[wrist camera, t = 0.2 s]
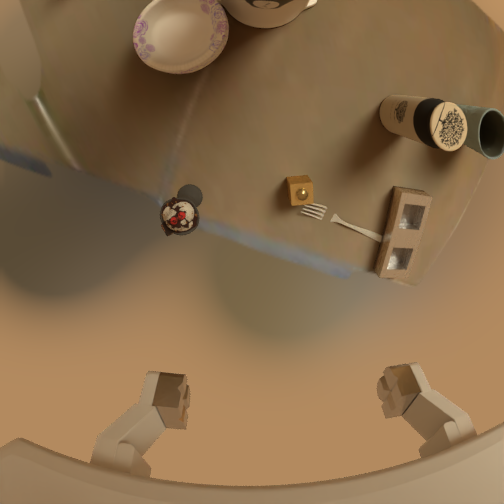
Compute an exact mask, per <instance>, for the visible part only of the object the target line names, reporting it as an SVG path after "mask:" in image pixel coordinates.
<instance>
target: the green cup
mask: <svg viewBox="0 0 504 504" xmlns="http://www.w3.org/2000/svg"><path fill="white" fill-rule="evenodd" d="M457 106H458V107H459V108H460V109H461V110H462V112H463V113H464V115H465V118H466V121H467V135H466V138H465V141H464V143H463V144H464V145H467V147H469V148H471V149H474V150H475V151H477V152H479V153H480V154H482V155H483V156H485V157H487V158H488V159H497V158H499V157H500V156H501V155H502V154H503V153H504V116H503V115H502V113H501V112H500V111H498V110H497V109H494V108H485V107H476V106H466V105H457Z"/></svg>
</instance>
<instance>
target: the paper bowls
mask: <svg viewBox="0 0 504 504" xmlns="http://www.w3.org/2000/svg"><path fill="white" fill-rule="evenodd" d="M228 34H229V24H228V19H227V16H226V13H225V11H224V9H223V7H222V6H221V4H220V3H219V2H218V1H217V0H154V1H152V2H151V3H150V4H149V5H148V6H147V7H146V8H145V9H144V10H143V11H142V13H141V14H140V15H139V17H138V19H137V21H136V24H135V27H134V31H133V44H134V48H135V50H136V52H137V54H138V56H139V57H140V59H141V60H142V61H143V62H144V63H145V64H147V65H148V66H150V67H152V68H154V69H156V70H159V71H163V72H167V73H172V74H185V73H192V72H195V71H197V70H200V69H202V68H204V67H206V66H207V65H209V64H210V63H211V62H212V61H214V60H215V59H216V58H217V57H218V56H219V55H220V53H221V52H222V50H223V49H224V47H225V45H226V43H227V40H228Z"/></svg>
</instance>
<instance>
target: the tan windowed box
mask: <svg viewBox="0 0 504 504" xmlns="http://www.w3.org/2000/svg"><path fill="white" fill-rule="evenodd" d="M431 201H432V196H430V195H429V194H427V193H426V192H424V191H422V190H416V189H410V188H403V187H397V186H393V191H392V196H391V200H390V205H389V209H388V214H387V218H386V222H385V226H384V230H383V234H382V238H381V242H380V246H379V249H378V253H377V257H376V260H375V264H374V267H373V269H374V270H375V272H376V273H377V275H378V277H379V278H408V276H409V274H410V271H411V268H412V265H413V262H414V259H415V256H416V253H417V250H418V247H419V244H420V241H421V237H422V234H423V231H424V227H425V224H426V220H427V217H428V213H429V209H430V205H431Z"/></svg>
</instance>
